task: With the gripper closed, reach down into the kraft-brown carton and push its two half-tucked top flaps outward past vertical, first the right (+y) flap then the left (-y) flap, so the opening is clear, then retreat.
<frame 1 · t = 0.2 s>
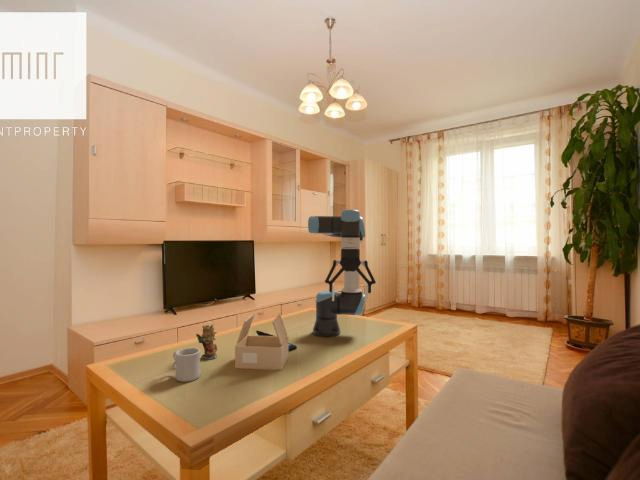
hand: (350, 300, 135), 28 cm above the table, fingers open, 13 cm apart
carton: (263, 362, 143), on the table
game console: (276, 349, 161), on the table
left flap: (246, 328, 143), point 14 cm above the table, hinge at -20.0°
right flap: (280, 329, 142), point 14 cm above the table, hinge at -20.0°
figurine: (207, 357, 148), on the table
mug: (185, 377, 128), on the table
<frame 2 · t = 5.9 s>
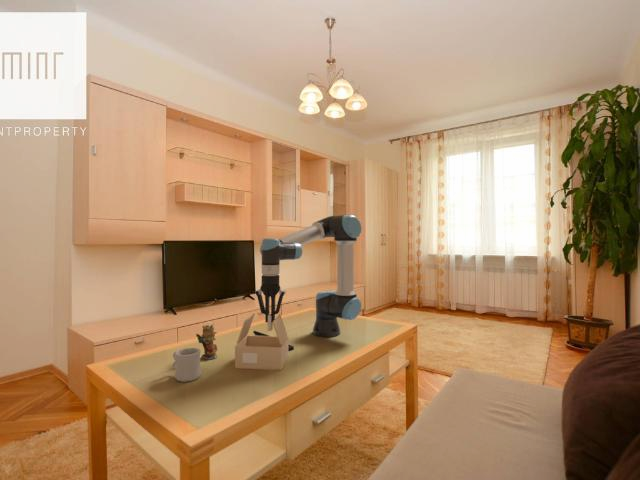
hand: (270, 329, 142), 14 cm above the table, fingers closed
game console: (273, 349, 160), on the table
right flap: (280, 329, 142), point 14 cm above the table, hinge at -19.4°, touching gripper
everything else where it was.
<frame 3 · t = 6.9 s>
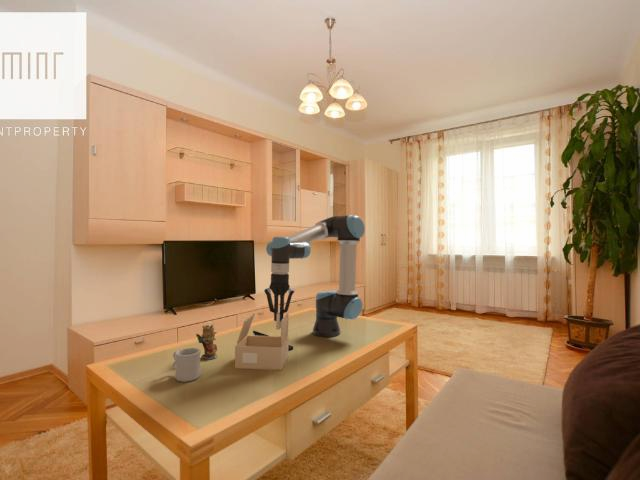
hand: (278, 328, 142), 15 cm above the table, fingers closed
right flap: (284, 328, 142), point 15 cm above the table, hinge at 1.0°, touching gripper
everything else where it was.
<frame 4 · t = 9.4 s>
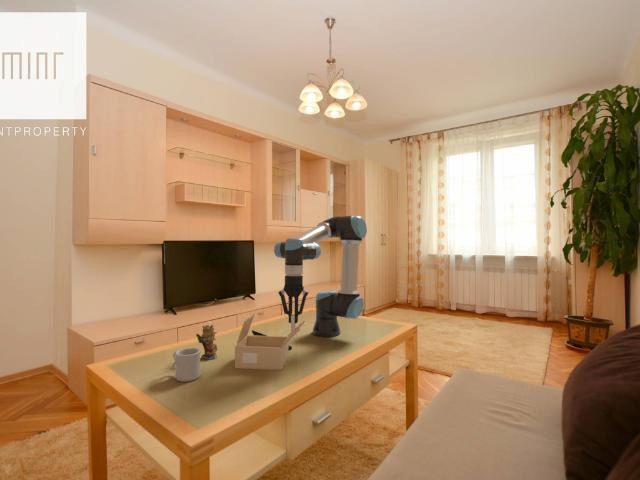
hand: (293, 330, 142), 14 cm above the table, fingers closed
right flap: (293, 332, 142), point 13 cm above the table, hinge at 46.3°, touching gripper
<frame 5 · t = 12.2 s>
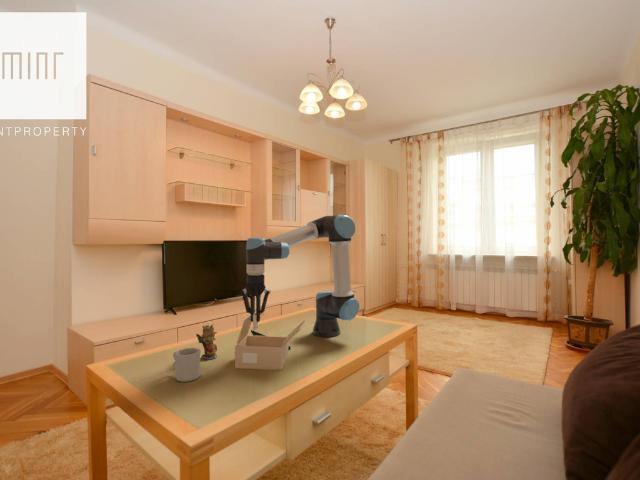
hand: (255, 329, 143), 14 cm above the table, fingers closed
left flap: (245, 327, 143), point 15 cm above the table, hinge at -18.9°, touching gripper
right flap: (293, 332, 142), point 13 cm above the table, hinge at 46.4°
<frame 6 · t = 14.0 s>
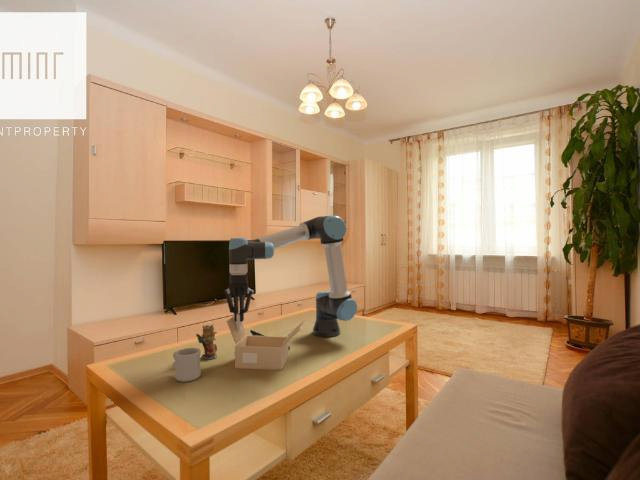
hand: (239, 328, 143), 14 cm above the table, fingers closed
left flap: (236, 328, 144), point 14 cm above the table, hinge at 23.1°, touching gripper
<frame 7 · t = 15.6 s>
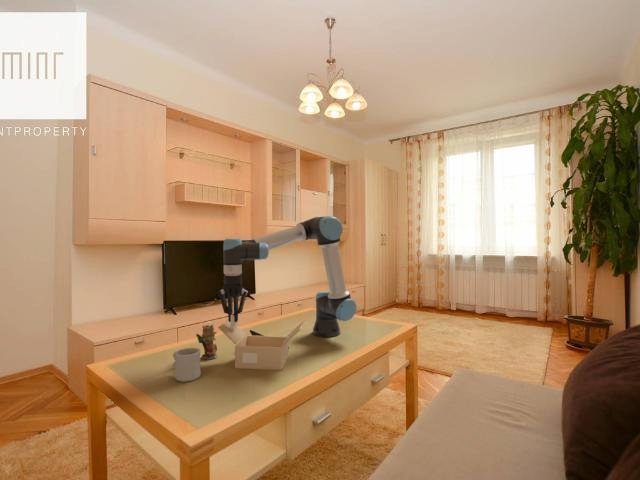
hand: (233, 329, 144), 14 cm above the table, fingers closed
left flap: (232, 331, 144), point 13 cm above the table, hinge at 48.1°, touching gripper
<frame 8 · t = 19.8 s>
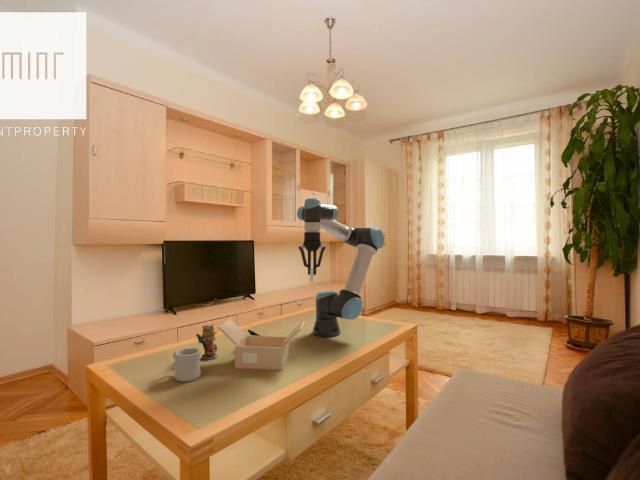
hand: (312, 281, 158), 32 cm above the table, fingers closed
game console: (267, 349, 160), on the table
left flap: (232, 331, 144), point 13 cm above the table, hinge at 48.2°
everything else where it was.
at the end: right flap at +46° (first picture: -20°); left flap at +48° (first picture: -20°) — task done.
